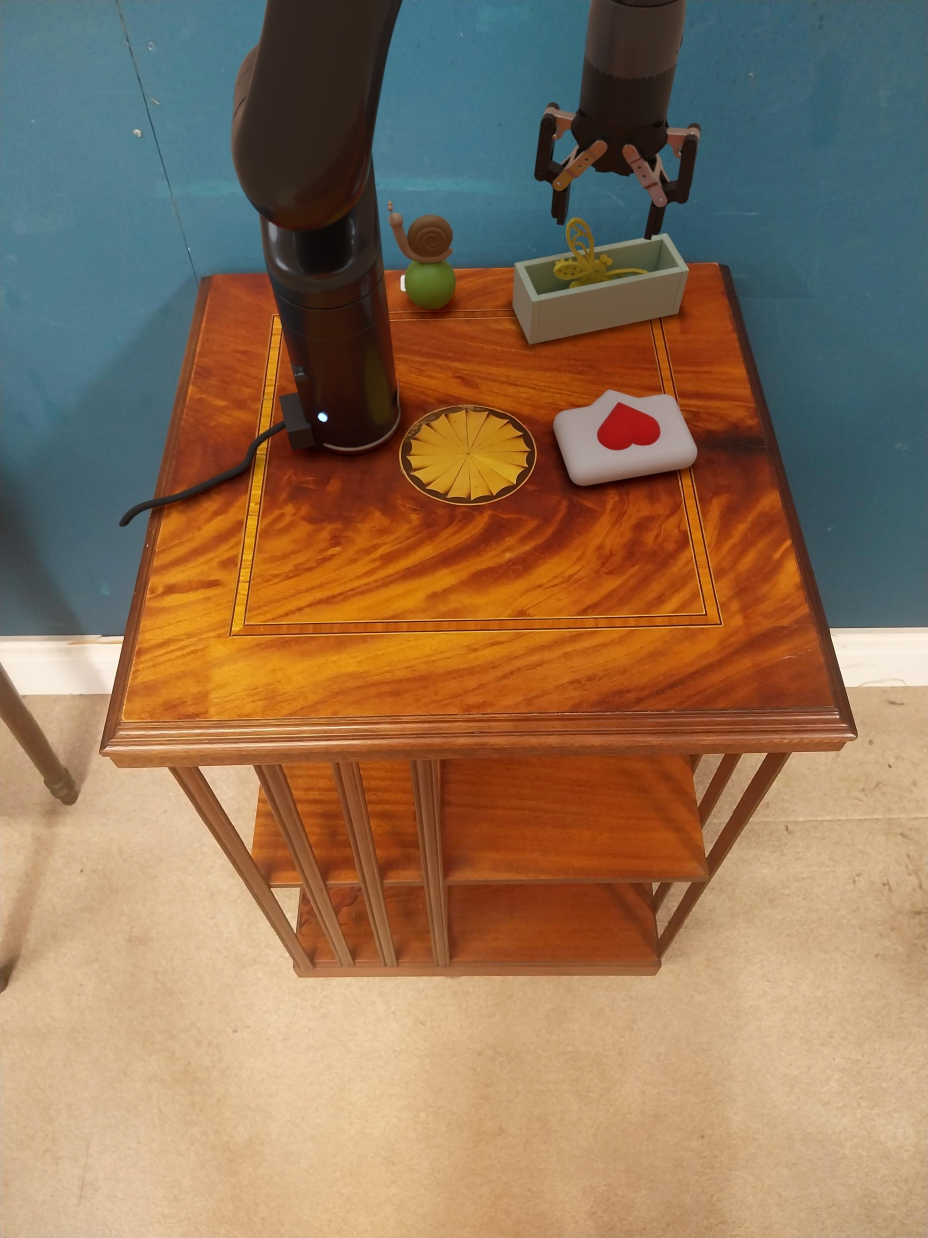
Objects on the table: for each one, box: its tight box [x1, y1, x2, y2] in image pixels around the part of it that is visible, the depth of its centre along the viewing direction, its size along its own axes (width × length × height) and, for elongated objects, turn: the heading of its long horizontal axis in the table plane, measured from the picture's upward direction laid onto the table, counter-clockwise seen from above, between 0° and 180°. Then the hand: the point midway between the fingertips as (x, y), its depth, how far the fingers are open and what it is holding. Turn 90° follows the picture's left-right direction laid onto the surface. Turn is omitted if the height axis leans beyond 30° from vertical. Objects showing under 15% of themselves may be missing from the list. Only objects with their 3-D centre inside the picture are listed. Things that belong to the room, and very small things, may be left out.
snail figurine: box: [386, 200, 457, 311], centre depth 86 cm, size 5×6×12 cm
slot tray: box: [512, 233, 690, 345], centre depth 88 cm, size 17×6×6 cm, turn 105°
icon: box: [552, 389, 698, 487], centre depth 80 cm, size 12×4×10 cm
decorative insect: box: [553, 216, 649, 290], centre depth 87 cm, size 13×3×10 cm
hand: (605, 227), depth 82 cm, fingers open, 8 cm apart
